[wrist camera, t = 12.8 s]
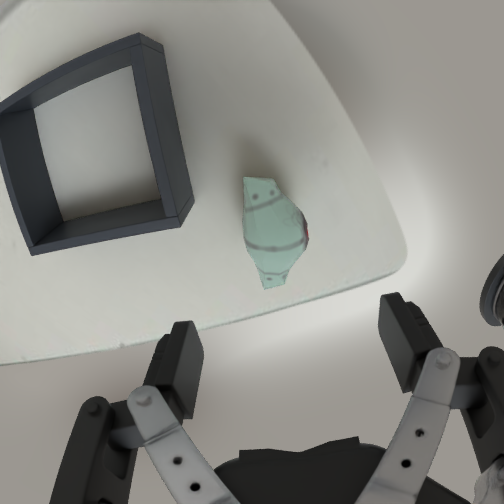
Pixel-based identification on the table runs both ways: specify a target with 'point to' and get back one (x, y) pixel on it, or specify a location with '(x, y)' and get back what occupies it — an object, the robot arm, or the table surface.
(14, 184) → the bin
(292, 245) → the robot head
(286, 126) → the table surface
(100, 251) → the table surface
